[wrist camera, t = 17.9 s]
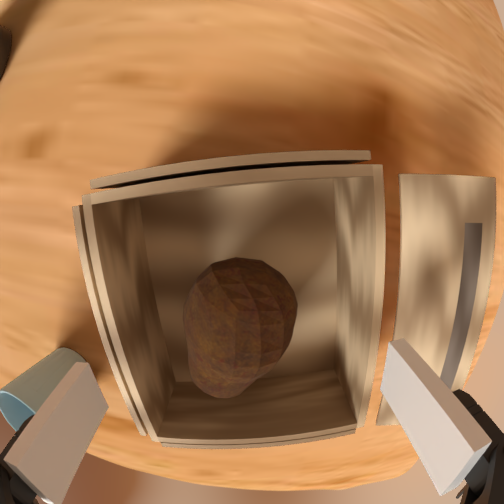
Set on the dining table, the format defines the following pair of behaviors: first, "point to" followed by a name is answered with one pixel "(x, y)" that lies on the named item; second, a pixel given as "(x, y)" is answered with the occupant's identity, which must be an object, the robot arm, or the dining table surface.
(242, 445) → the carton
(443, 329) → the flap
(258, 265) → the potato
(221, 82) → the dining table surface
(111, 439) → the dining table surface
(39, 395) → the cup
